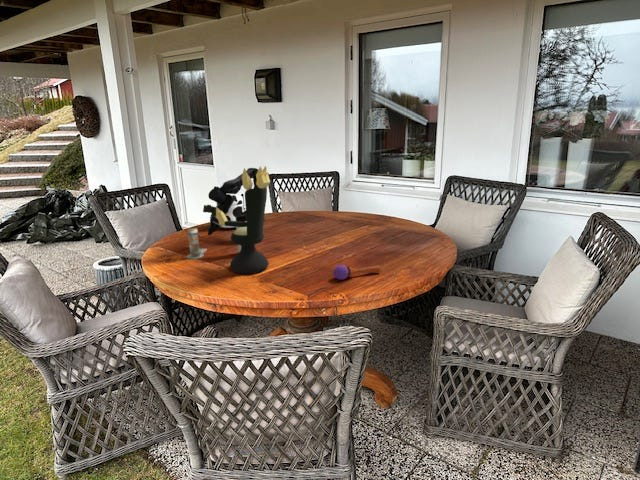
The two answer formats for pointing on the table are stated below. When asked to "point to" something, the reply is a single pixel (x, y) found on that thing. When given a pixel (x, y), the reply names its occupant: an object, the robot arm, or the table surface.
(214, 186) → the robot arm
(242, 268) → the candelabra
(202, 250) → the bent rod
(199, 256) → the coaster
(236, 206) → the milk container
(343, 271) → the kendama
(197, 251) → the ringed post
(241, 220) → the travel mug
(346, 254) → the table surface
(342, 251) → the table surface
